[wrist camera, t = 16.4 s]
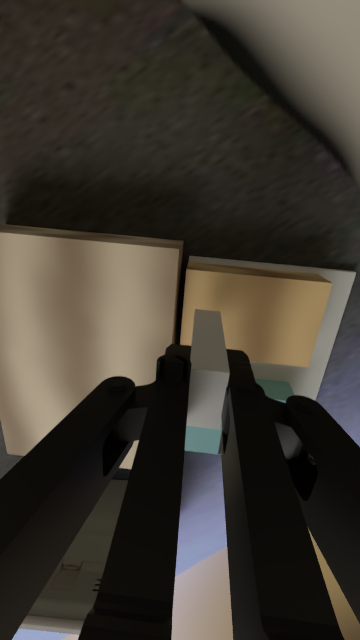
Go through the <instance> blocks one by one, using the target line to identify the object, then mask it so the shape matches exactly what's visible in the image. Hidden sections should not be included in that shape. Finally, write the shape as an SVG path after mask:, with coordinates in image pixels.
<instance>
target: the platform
mask: <svg viewBox="0 0 360 640" xmlns="http://www.w3.org/2000/svg"><path fill="white" fill-rule="evenodd" d="M183 243H184V241H181V240H170V239H159V238H148V237H137V236H126V235H116V234H105V233H94V232H83V231H72V230H61V229H50V228H39V227H28V226H18V225H7V224H4V225H0V419H1V424H2V429H3V434H4V439H5V444H6V449H7V454H14V455H22V456H25V455H26V454H27V453H28V452H29V451H30V450H31V449H32V448H33V447H34V446H36V445H37V444H38V443H39V442H40V441H41V440H42V439H43V438H44V437H45V436H46V435H47V434H48V433H49V432H50V431H51V430H52V429H53V428H54V427H55V426H56V425H57V424H58V423H59V422H60V421H61V420H62V419H64V418H65V417H66V416H67V415H68V414H69V413H70V412H71V411H72V410H73V409H74V408H75V407H76V406H77V405H78V404H79V403H80V402H81V401H82V400H83V399H84V398H85V397H86V396H87V395H88V394H89V393H90V392H92V391H93V390H94V389H95V388H96V387H97V386H98V385H99V384H100V383H101V382H102V381H104V380H105V379H107V378H110V377H114V376H123V377H127V378H130V379H131V380H132V381H133V382H135V386H142V385H147V384H150V383H152V382H154V381H155V380H156V365H157V359H158V358H159V357H160V356H162V355H165V351H166V348H167V347H168V346H169V345H171V344H175V341H176V328H177V316H178V304H179V292H180V280H181V267H182V255H183ZM138 442H139V440H137V441H134V443H133V446H132V447H131V449H130V451H129V452H128V454H127V455H126V457H125V459H124V460H123V462H122V463H121V465H120V467H119V468H125V469H131V468H132V465H133V461H134V457H135V453H136V450H137V446H138Z"/></svg>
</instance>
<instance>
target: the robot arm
mask: <svg viewBox="0 0 360 640" xmlns="http://www.w3.org/2000/svg"><path fill="white" fill-rule="evenodd" d="M221 421H222V433H221V438H220V444H219V450H218V454H221V457H222V472H223V487H224V503H225V518H226V533H227V548H228V562H229V563H228V564H229V579H230V592H231V593H230V594H231V609H232V623H233V624H232V625H233V640H344V638H343V636H342V633H341V631H340V628H339V625H338V622H337V619H336V616H335V613H334V610H333V607H332V604H331V600H330V597H329V594H328V591H327V588H326V584H325V581H324V578H323V575H322V572H321V568H320V565H319V562H318V559H317V556H316V553H315V550H314V546H313V543H312V540H311V537H310V534H309V531H308V528H309V530H310V532H311V534H312V536H313V538H314V540H315V541H316V543H317V545H318V547H319V549H320V551H321V552H322V554H323V556H324V558H325V560H326V562H327V564H328V566H329V567H330V569H331V571H332V573H333V575H334V577H335V579H336V580H337V582H338V584H339V586H340V588H341V590H342V592H343V593H344V595H345V597H346V599H347V601H348V603H349V604H350V606H351V608H352V610H353V612H354V614H355V616H356V617H357V619H358V621H359V623H360V447H359V446H358V445H357V444H356V443H355V442H354V440H353V439H352V438H351V437H350V436H349V435H348V434H347V433H346V432H345V431H344V430H343V429H342V427H341V426H340V425H339V424H338V423H337V422H336V421H335V420H334V419H333V418H332V417H331V415H330V414H329V413H328V412H327V411H326V410H325V409H324V408H323V407H322V406H321V405H320V404H319V403H318V402H316V401H315V400H313V399H311V398H309V397H305V396H300V395H293V396H290V397H288V398H287V399H286V403H284V402H281V401H277V400H274V399H272V398H269V397H268V396H266V395H265V392H264V390H263V388H262V387H261V386H260V385H259V384H257V383H256V381H255V378H254V374H253V371H252V368H251V364H250V361H249V357H248V355H247V354H246V353H245V352H244V351H242V350H233V349H226V345H225V338H224V332H223V325H222V319H221V312H220V311H211V310H201V309H195V313H194V322H193V332H192V341H191V346H189V345H179V344H171V345H169V346H168V347H167V348H166V351H165V355H162V356H160V357H159V358H158V359H157V365H156V380H155V381H154V382H152V383H150V384H147V385H142V386H135V382H133V381H132V380H131V379H130V378H127V377H123V376H114V377H110V378H107V379H105V380H104V381H102V382H101V383H100V384H99V385H98V386H97V387H96V388H95V389H94V390H93V391H92V392H90V393H89V394H88V395H87V396H86V397H85V398H84V399H83V400H82V401H81V402H80V403H79V404H78V405H77V406H76V407H75V408H74V409H73V410H72V411H71V412H70V413H69V414H68V415H67V416H66V417H65V418H64V419H62V420H61V421H60V422H59V423H58V424H57V425H56V426H55V427H54V428H53V429H52V430H51V431H50V432H49V433H48V434H47V435H46V436H45V437H44V438H43V439H42V440H41V441H40V442H39V443H38V444H37V445H36V446H34V447H33V448H32V449H31V450H30V451H29V452H28V453H27V454H26V455H25V456H24V457H23V458H22V459H21V460H20V461H19V462H18V463H17V464H16V465H15V466H14V467H13V468H12V469H11V470H10V471H9V472H8V473H6V474H5V475H4V476H3V477H2V478H1V479H0V640H12V638H13V637H14V635H15V633H16V632H17V630H18V629H19V627H20V625H21V624H22V622H23V621H24V619H25V617H26V616H27V614H28V613H29V611H30V609H31V608H32V606H33V605H34V603H35V601H36V600H37V598H38V597H39V595H40V593H41V592H42V590H43V588H44V587H45V585H46V584H47V582H48V580H49V579H50V577H51V576H52V574H53V572H54V571H55V569H56V568H57V566H58V564H59V563H60V561H61V560H62V558H63V556H64V555H65V553H66V552H67V550H68V548H69V547H70V545H71V544H72V542H73V540H74V539H75V537H76V536H77V534H78V532H79V531H80V529H81V528H82V526H83V524H84V523H85V521H86V520H87V518H88V516H89V515H90V513H91V512H92V510H93V508H94V507H95V505H96V504H97V502H98V500H99V499H100V497H101V496H102V494H103V492H104V491H105V489H106V488H107V486H108V484H109V483H110V481H111V480H112V478H113V476H114V475H115V473H116V471H117V470H118V468H119V467H120V465H121V463H122V462H123V460H124V459H125V457H126V455H127V454H128V452H129V451H130V449H131V447H132V446H133V443H134V441H137V440H139V442H138V446H137V450H136V453H135V457H134V461H133V465H132V468H131V472H130V476H129V479H128V483H127V487H126V490H125V494H124V498H123V501H122V505H121V509H120V512H119V516H118V520H117V524H116V527H115V531H114V535H113V538H112V542H111V546H110V549H109V553H108V557H107V560H106V564H105V568H104V571H103V575H102V579H101V583H100V586H99V590H98V593H97V597H96V600H95V603H94V605H93V607H92V609H91V610H90V611H89V612H88V614H87V616H86V618H85V621H84V623H83V626H82V629H81V632H80V635H79V638H78V640H171V633H172V608H173V595H174V582H175V569H176V556H177V542H178V529H179V516H180V503H181V490H182V477H183V463H184V450H185V437H186V426H193V427H202V428H210V429H218V430H220V427H221ZM311 456H312V457H311ZM313 459H314V460H313Z"/></svg>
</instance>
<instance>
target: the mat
mask: <svg viewBox="0 0 360 640" xmlns="http://www.w3.org/2000/svg"><path fill="white" fill-rule="evenodd" d="M189 262H195V263H206V264H216V265H227V266H238V267H249V268H259V269H270V270H281V271H292V272H302V273H313V274H319V275H320V276H322V277H324V278H325V279H327V280H328V281H330V282H332V283H333V284H332V288H331V291H330V295H329V298H328V302H327V305H326V308H325V312H324V315H323V319H322V322H321V326H320V329H319V333H318V336H317V339H316V343H315V346H314V350H313V353H312V357H311V360H310V364H309V367H301V366H291V365H282V364H272V363H263V362H254V361H250V364H251V368H252V371H253V374H254V378H255V379H263V380H272V381H282V382H289V384H290V386H291V388H292V391H293V393H294V395H300V396H305V397H309V398H311V399H313V400H316V397H317V394H318V391H319V388H320V385H321V382H322V378H323V375H324V372H325V369H326V366H327V363H328V360H329V357H330V353H331V350H332V347H333V344H334V341H335V338H336V335H337V331H338V328H339V325H340V322H341V319H342V316H343V313H344V310H345V306H346V303H347V300H348V297H349V294H350V291H351V288H352V285H353V281H354V278H355V275H356V272H354V271H347V270H336V269H326V268H315V267H304V266H294V265H283V264H272V263H262V262H251V261H241V260H230V259H219V258H209V257H198V256H189Z"/></svg>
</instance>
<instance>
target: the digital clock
mask: <svg viewBox="0 0 360 640" xmlns="http://www.w3.org/2000/svg"><path fill="white" fill-rule="evenodd" d="M127 483H128V480H117V479H112V480H111V481H110V483H109V484H108V486H107V488H106V489H105V491H104V492H103V494H102V496H101V497H100V499H99V500H98V502H97V504H96V505H95V507H94V508H93V510H92V512H91V513H90V515H89V516H88V518H87V520H86V521H85V523H84V524H83V526H82V528H81V529H80V531H79V532H78V534H77V536H76V537H75V539H74V540H73V542H72V544H71V545H70V547H69V548H68V550H67V552H66V553H65V555H64V556H63V558H62V560H61V561H60V563H59V564H58V566H57V568H56V569H55V571H54V572H53V574H52V576H51V577H50V579H49V580H48V582H47V584H46V585H45V587H44V588H43V590H42V592H41V593H40V595H39V597H38V598H37V600H36V601H35V603H34V605H33V606H32V608H31V609H30V611H29V613H28V614H27V616H26V617H25V619H24V621H23V622H22V624H21V625H20V627H19V628H22V629H31V630H40V631H50V632H59V633H68V634H77V635H80V632H81V629H82V626H83V623H84V621H85V618H86V616H87V614H88V612H89V611H90V610H91V609H92V607H93V605H94V603H95V600H96V597H97V593H98V590H99V586H100V583H101V579H102V575H103V571H104V568H105V564H106V560H107V557H108V553H109V549H110V546H111V542H112V538H113V535H114V531H115V527H116V524H117V520H118V516H119V512H120V509H121V505H122V501H123V498H124V494H125V490H126V487H127Z"/></svg>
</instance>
